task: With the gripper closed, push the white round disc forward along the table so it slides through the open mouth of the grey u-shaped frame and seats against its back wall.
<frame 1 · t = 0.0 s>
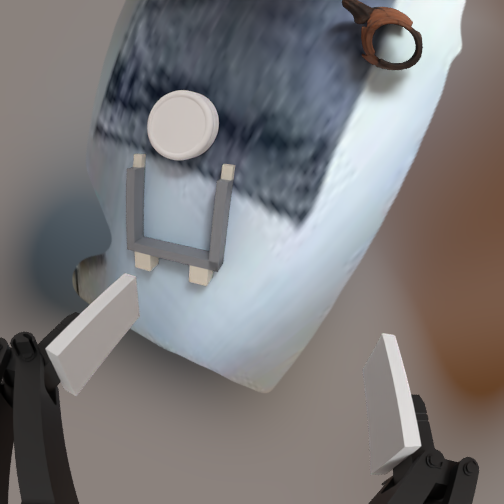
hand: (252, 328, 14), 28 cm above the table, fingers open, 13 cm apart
white round disc: (187, 124, 38), on the table
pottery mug: (376, 36, 27), on the table
grey u-shaped frame: (179, 209, 43), on the table
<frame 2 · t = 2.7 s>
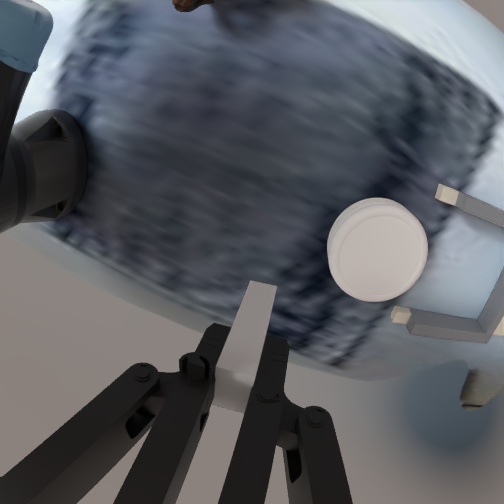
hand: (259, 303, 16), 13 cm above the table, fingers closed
white round disc: (373, 243, 27), on the table
grey u-shaped frame: (468, 269, 26), on the table
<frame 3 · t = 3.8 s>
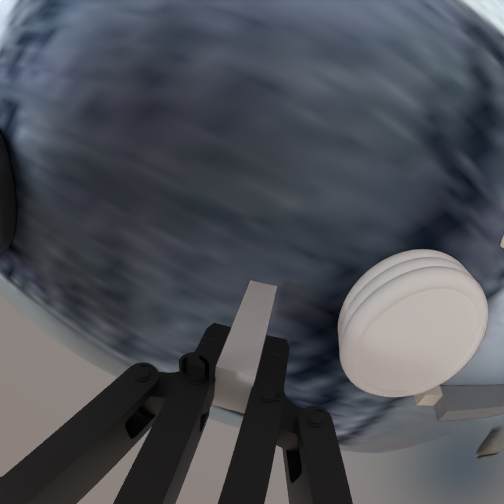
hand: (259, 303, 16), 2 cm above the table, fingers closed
white round disc: (407, 312, 17), on the table
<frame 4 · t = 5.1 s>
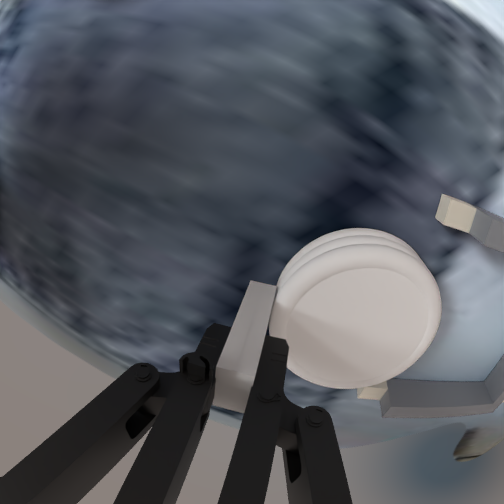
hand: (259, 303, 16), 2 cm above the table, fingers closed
white round disc: (352, 298, 17), on the table, touching gripper
grey u-shaped frame: (480, 323, 16), on the table
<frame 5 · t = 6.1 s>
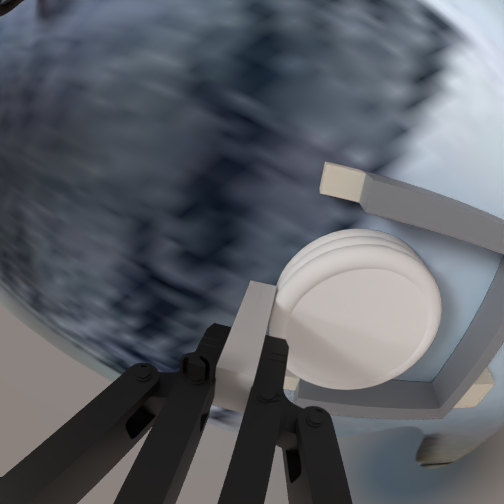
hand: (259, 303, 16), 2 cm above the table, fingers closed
white round disc: (352, 299, 17), on the table
grey u-shaped frame: (408, 313, 17), on the table
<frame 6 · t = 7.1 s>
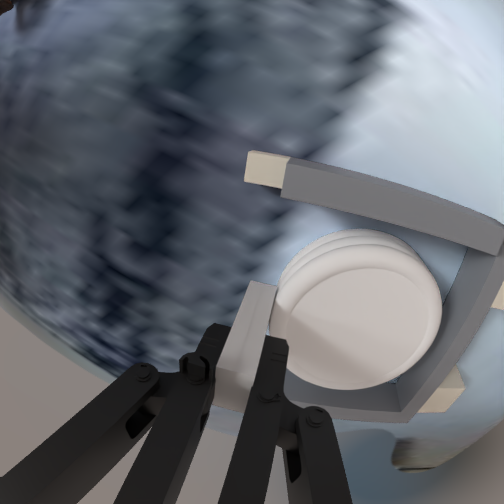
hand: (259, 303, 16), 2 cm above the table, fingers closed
white round disc: (353, 299, 17), on the table, touching gripper
grey u-shaped frame: (358, 308, 17), on the table
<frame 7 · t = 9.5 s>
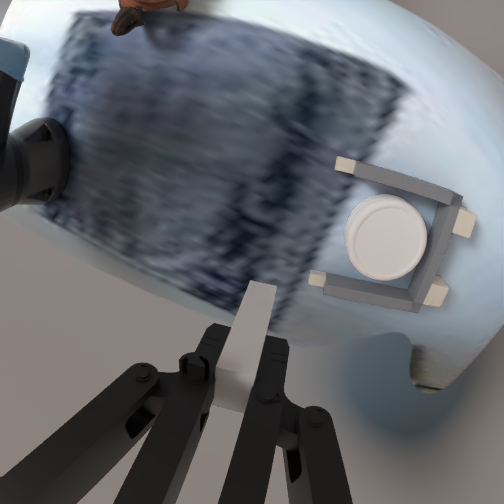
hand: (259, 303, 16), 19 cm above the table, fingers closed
white round disc: (382, 232, 33), on the table
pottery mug: (156, 6, 25), on the table
grey u-shaped frame: (384, 236, 32), on the table
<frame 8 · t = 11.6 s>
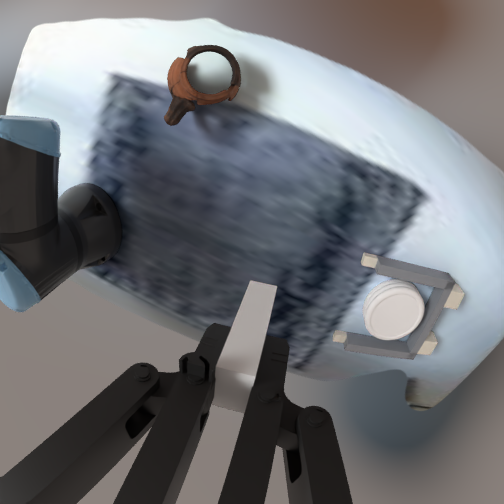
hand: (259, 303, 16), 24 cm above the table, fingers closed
white round disc: (391, 303, 42), on the table
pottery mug: (203, 88, 34), on the table
grey u-shaped frame: (392, 307, 41), on the table
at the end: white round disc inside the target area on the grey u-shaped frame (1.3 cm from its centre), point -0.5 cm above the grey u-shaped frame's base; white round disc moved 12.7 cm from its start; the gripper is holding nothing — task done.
